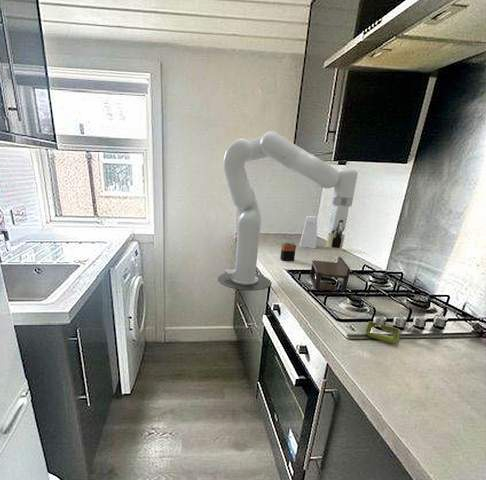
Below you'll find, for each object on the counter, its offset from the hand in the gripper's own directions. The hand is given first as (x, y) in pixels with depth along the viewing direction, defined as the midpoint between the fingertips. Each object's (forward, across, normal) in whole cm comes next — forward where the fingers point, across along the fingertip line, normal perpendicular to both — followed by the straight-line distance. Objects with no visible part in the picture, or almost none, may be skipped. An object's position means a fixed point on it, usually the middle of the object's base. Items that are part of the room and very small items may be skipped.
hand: (334, 245), depth 127 cm
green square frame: (+18, +42, +10) cm, 47 cm away
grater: (+18, -80, -1) cm, 82 cm away
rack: (+18, -1, 0) cm, 18 cm away
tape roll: (+1, 0, 0) cm, 1 cm away
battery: (+18, -37, -16) cm, 44 cm away
